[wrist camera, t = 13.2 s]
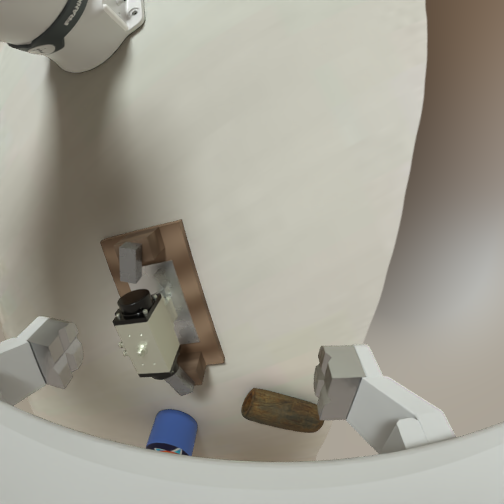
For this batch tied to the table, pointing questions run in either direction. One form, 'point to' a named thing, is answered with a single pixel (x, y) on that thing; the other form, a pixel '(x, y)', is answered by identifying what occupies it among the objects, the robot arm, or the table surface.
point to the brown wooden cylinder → (281, 411)
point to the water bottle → (173, 433)
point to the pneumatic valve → (148, 333)
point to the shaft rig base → (177, 249)
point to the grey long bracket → (166, 283)
